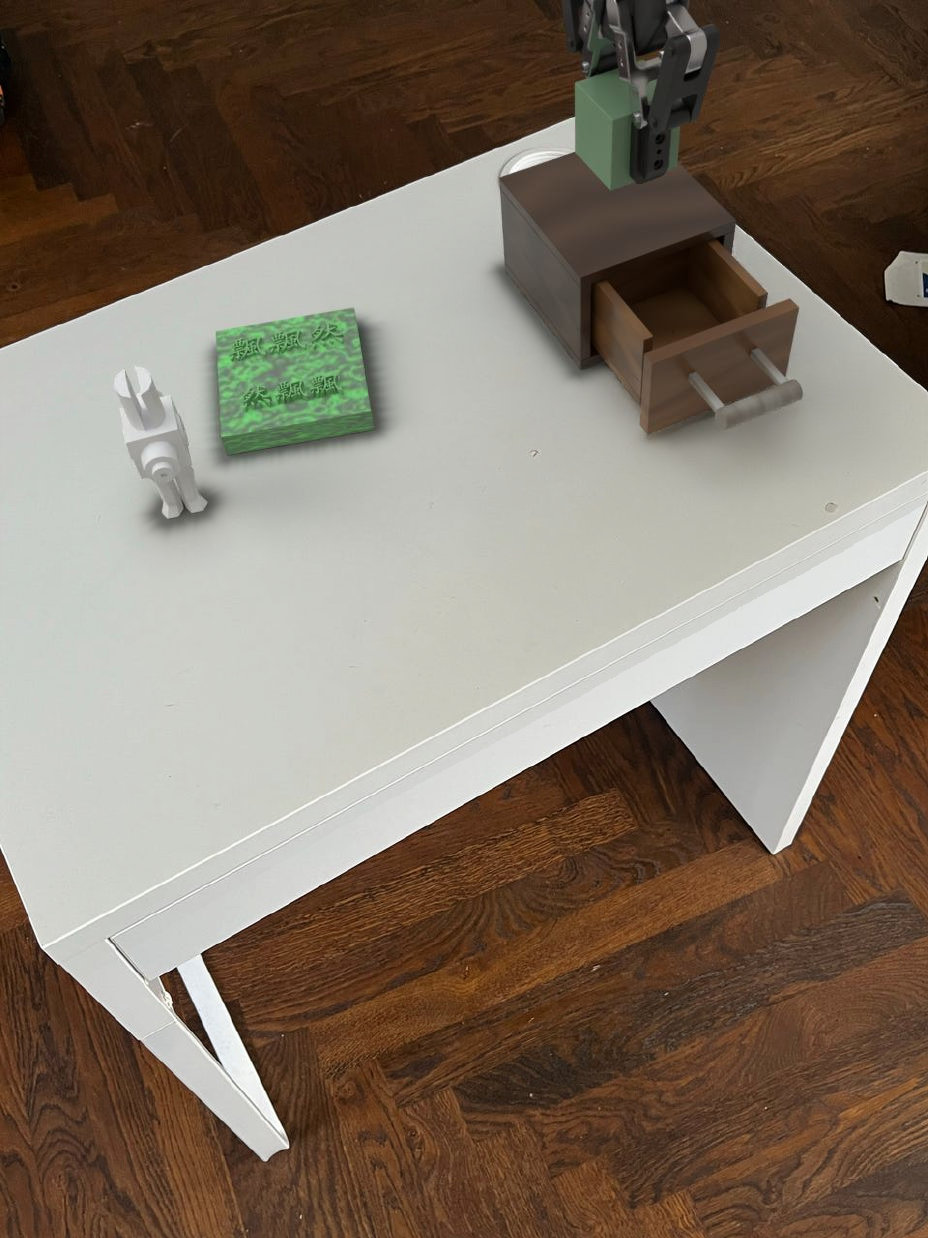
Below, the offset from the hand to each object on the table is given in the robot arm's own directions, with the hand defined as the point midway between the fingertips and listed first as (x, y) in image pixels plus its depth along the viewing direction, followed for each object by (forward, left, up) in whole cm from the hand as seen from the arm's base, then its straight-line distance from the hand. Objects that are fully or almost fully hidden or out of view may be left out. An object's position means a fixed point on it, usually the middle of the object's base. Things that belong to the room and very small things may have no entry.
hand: (626, 153), depth 69 cm
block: (0, 0, 0) cm, 0 cm away
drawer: (-5, -4, -20) cm, 21 cm away
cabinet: (+4, -13, -21) cm, 25 cm away
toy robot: (+28, +18, -22) cm, 39 cm away
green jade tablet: (+25, +5, -22) cm, 33 cm away
